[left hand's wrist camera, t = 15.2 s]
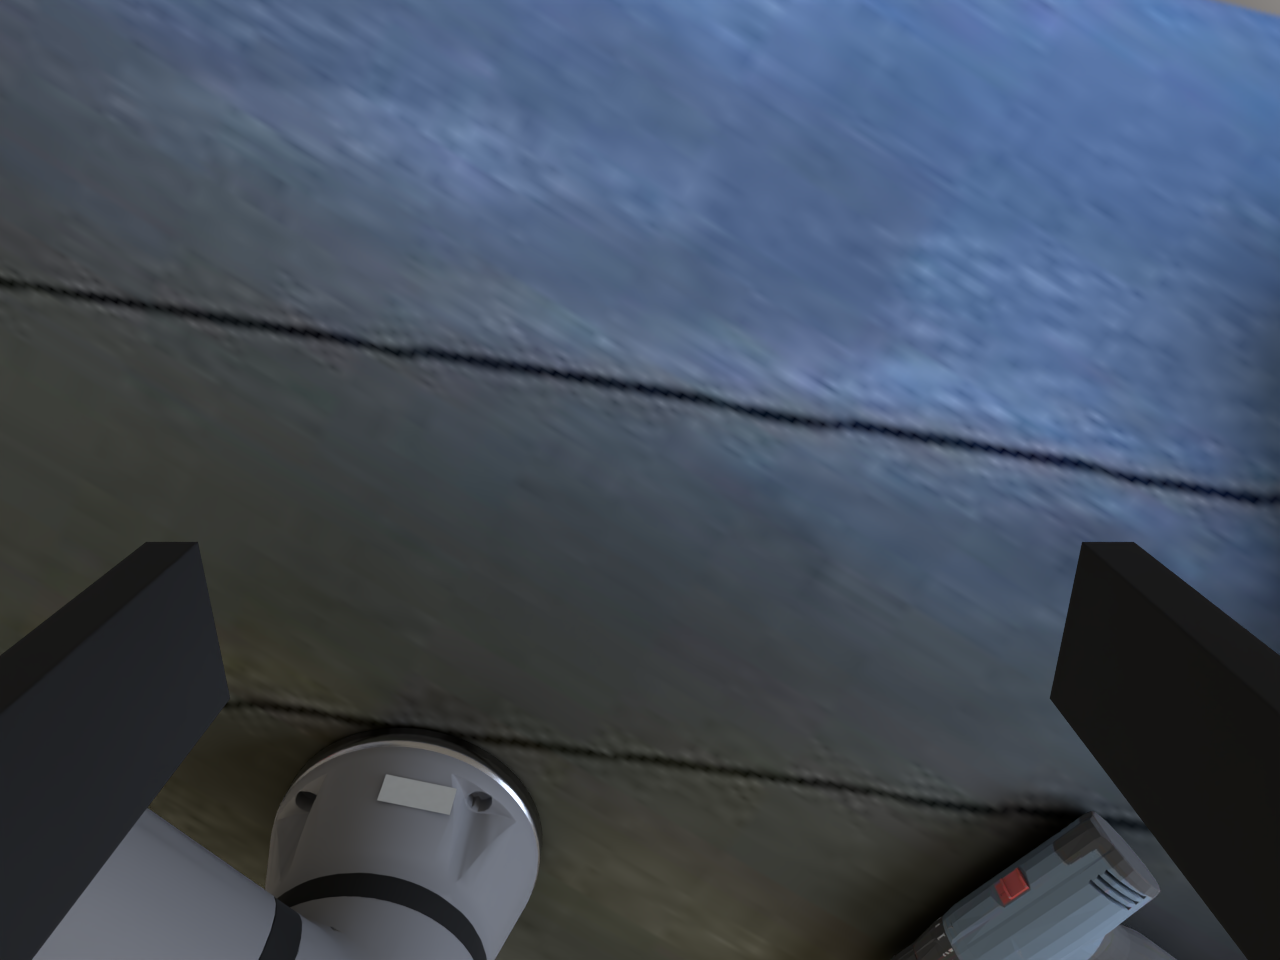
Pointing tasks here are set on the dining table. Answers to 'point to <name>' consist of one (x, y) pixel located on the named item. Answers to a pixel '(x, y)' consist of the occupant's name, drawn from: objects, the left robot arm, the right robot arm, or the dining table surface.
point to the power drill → (1052, 905)
